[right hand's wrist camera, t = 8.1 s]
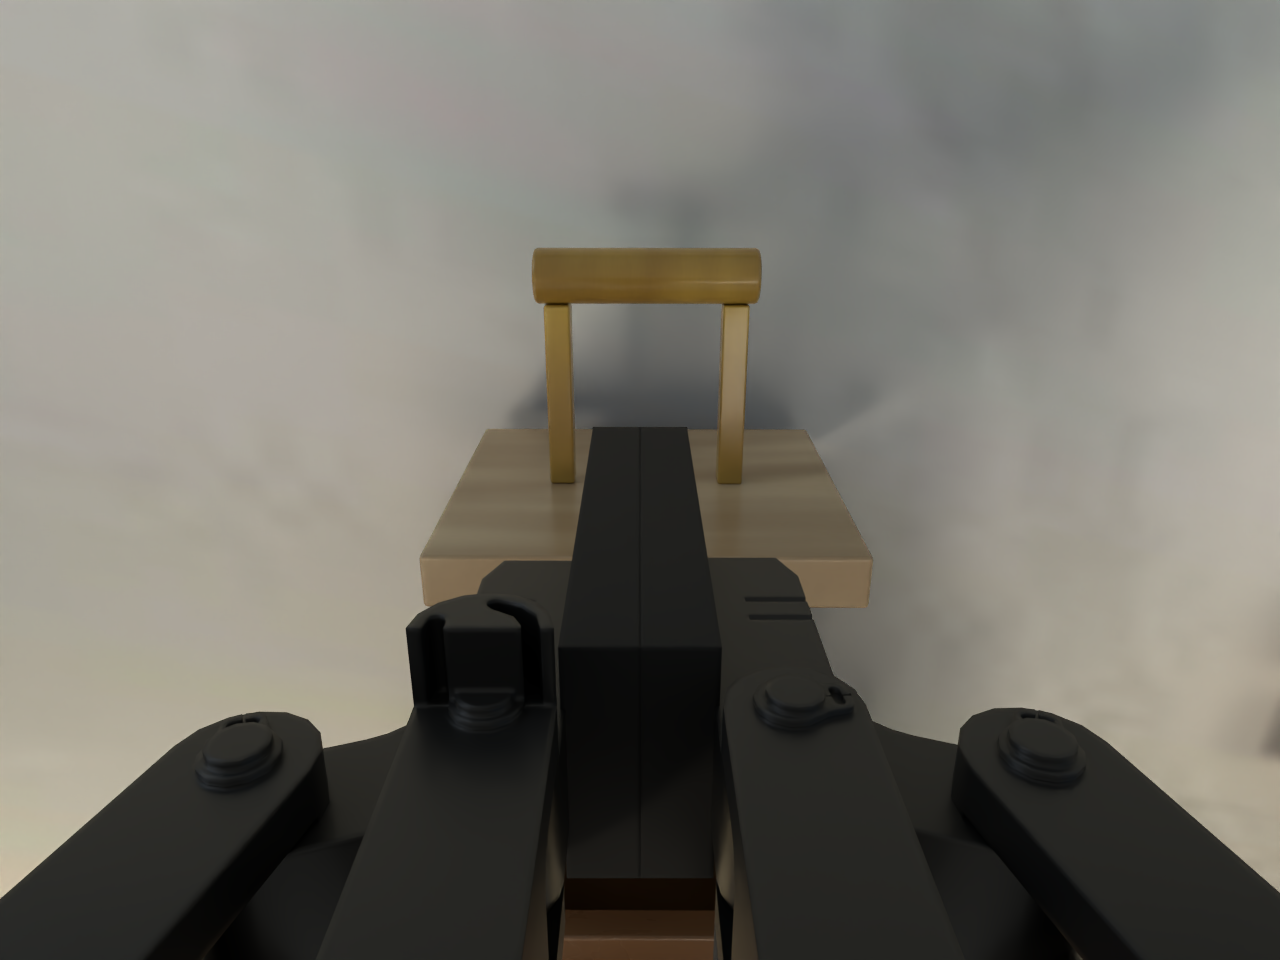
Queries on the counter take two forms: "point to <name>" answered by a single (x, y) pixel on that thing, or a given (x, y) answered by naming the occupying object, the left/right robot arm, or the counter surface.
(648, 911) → the cabinet
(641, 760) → the right robot arm
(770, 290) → the counter surface
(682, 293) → the drawer
